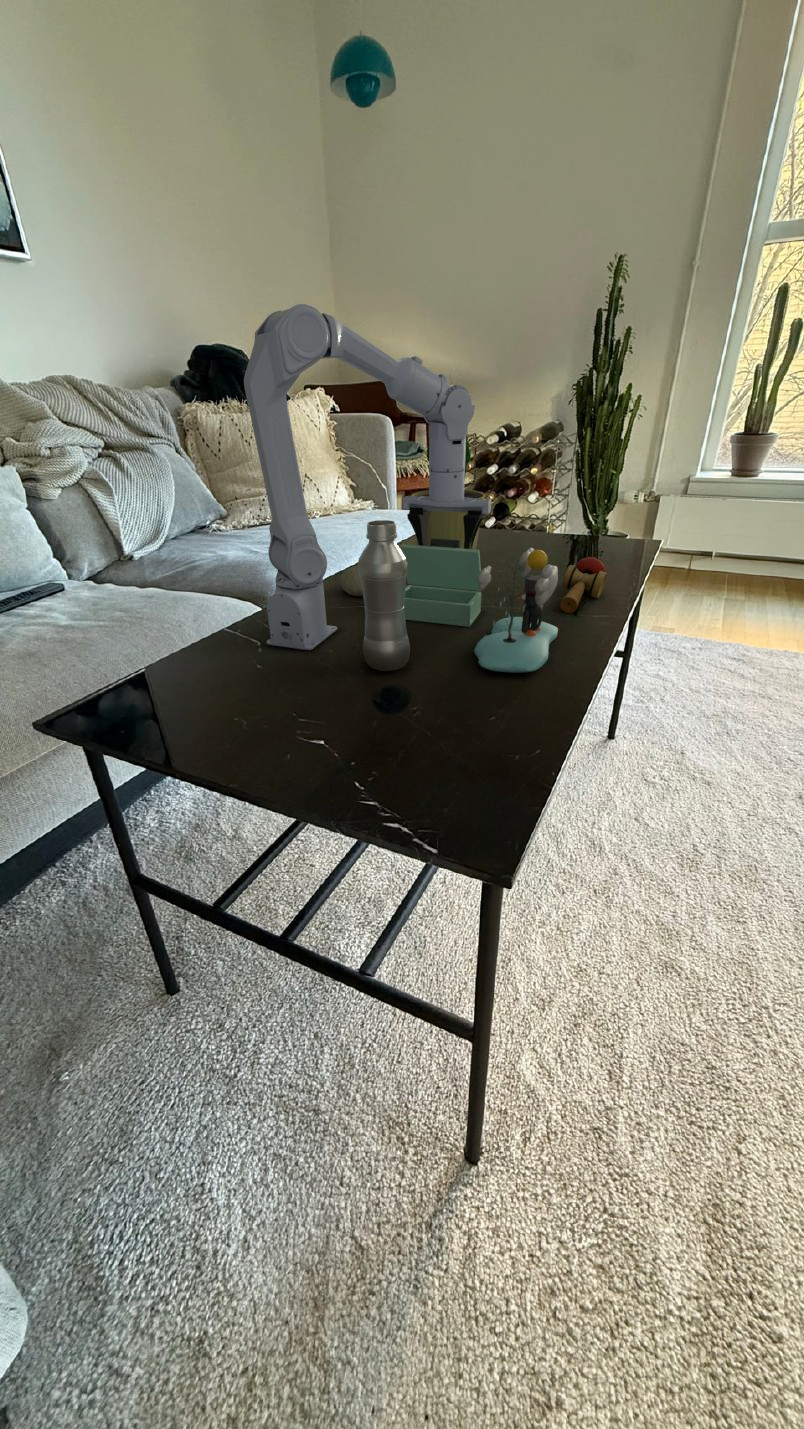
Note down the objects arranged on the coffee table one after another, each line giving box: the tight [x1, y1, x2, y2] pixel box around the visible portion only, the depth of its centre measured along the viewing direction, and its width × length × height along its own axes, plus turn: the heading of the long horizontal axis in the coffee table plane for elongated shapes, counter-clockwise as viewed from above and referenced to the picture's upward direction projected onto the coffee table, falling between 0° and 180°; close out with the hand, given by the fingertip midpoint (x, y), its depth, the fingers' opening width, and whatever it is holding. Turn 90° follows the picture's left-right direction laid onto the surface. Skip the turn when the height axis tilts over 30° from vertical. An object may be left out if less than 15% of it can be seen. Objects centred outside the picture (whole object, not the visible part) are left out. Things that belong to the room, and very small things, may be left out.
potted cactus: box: [410, 432, 486, 550], centre depth 123 cm, size 15×15×30 cm
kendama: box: [559, 556, 608, 614], centre depth 108 cm, size 8×6×18 cm
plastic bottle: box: [357, 519, 411, 672], centre depth 80 cm, size 6×7×20 cm
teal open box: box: [404, 584, 482, 628], centre depth 102 cm, size 7×13×4 cm, turn 70°
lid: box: [400, 538, 482, 592], centre depth 102 cm, size 8×13×4 cm
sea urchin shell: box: [339, 564, 363, 597], centre depth 115 cm, size 9×8×8 cm
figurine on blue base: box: [474, 547, 559, 674], centre depth 85 cm, size 20×11×15 cm, turn 156°
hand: (445, 555), depth 102 cm, fingers open, 7 cm apart
